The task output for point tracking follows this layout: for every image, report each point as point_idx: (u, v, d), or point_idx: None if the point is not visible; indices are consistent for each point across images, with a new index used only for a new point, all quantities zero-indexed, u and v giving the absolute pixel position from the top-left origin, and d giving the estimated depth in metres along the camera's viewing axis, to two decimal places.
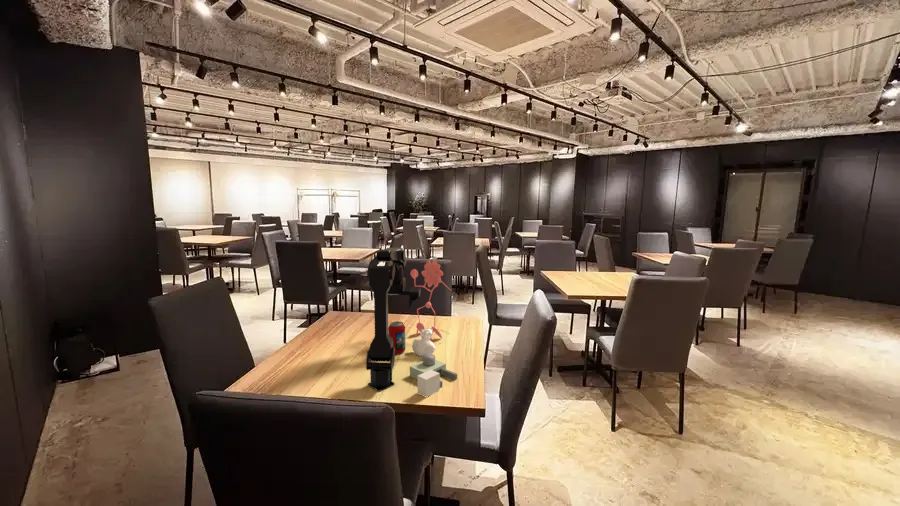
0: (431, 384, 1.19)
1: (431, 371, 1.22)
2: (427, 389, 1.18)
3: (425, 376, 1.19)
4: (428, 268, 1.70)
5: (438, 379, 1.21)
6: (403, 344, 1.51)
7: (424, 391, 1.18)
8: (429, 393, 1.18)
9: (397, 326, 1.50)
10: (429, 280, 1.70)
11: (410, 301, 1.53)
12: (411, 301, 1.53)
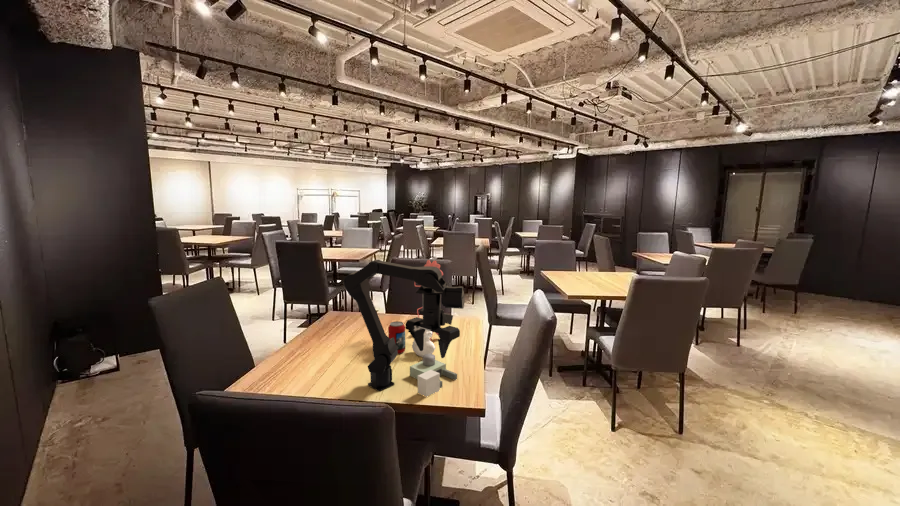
0: (431, 384, 1.19)
1: (431, 371, 1.22)
2: (427, 389, 1.18)
3: (425, 376, 1.19)
4: None
5: (438, 379, 1.21)
6: (403, 344, 1.51)
7: (424, 391, 1.18)
8: (429, 393, 1.18)
9: (397, 326, 1.50)
10: None
11: (439, 342, 1.14)
12: (440, 343, 1.14)
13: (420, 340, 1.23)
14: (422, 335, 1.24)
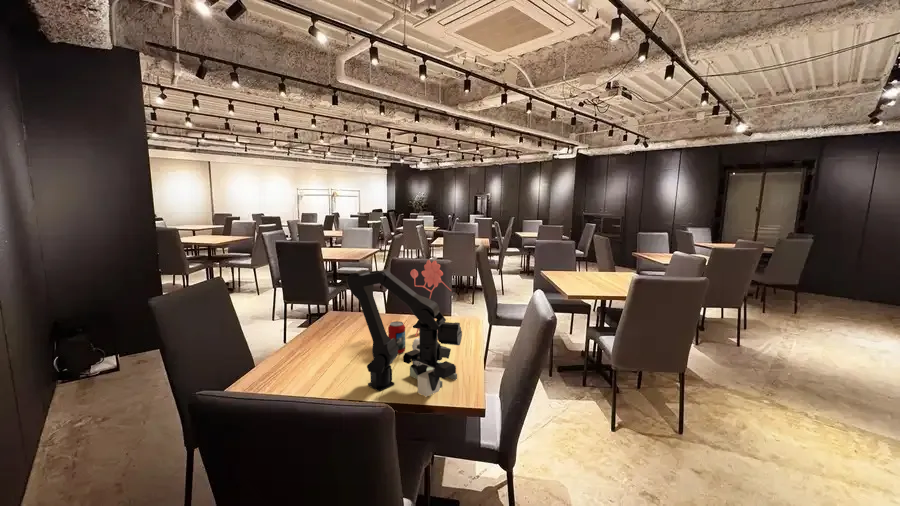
0: None
1: (431, 371, 1.22)
2: (427, 389, 1.18)
3: (425, 376, 1.19)
4: (428, 268, 1.70)
5: None
6: (403, 344, 1.51)
7: (424, 390, 1.18)
8: (429, 393, 1.18)
9: (397, 326, 1.50)
10: (429, 280, 1.70)
11: (429, 376, 1.16)
12: (430, 376, 1.16)
13: None
14: (425, 370, 1.23)
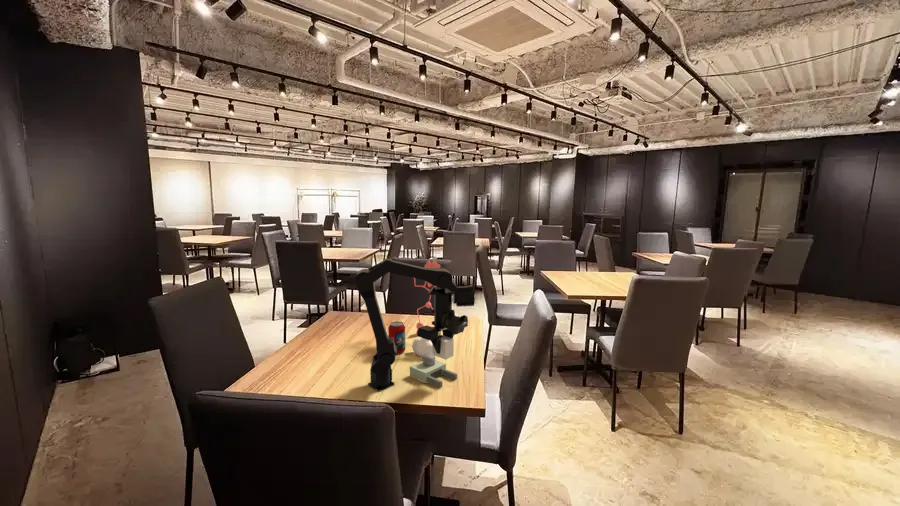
0: None
1: (449, 339, 1.26)
2: (433, 347, 1.27)
3: None
4: None
5: (444, 347, 1.24)
6: (403, 344, 1.51)
7: None
8: (435, 353, 1.27)
9: (397, 326, 1.50)
10: None
11: None
12: None
13: None
14: (450, 336, 1.28)
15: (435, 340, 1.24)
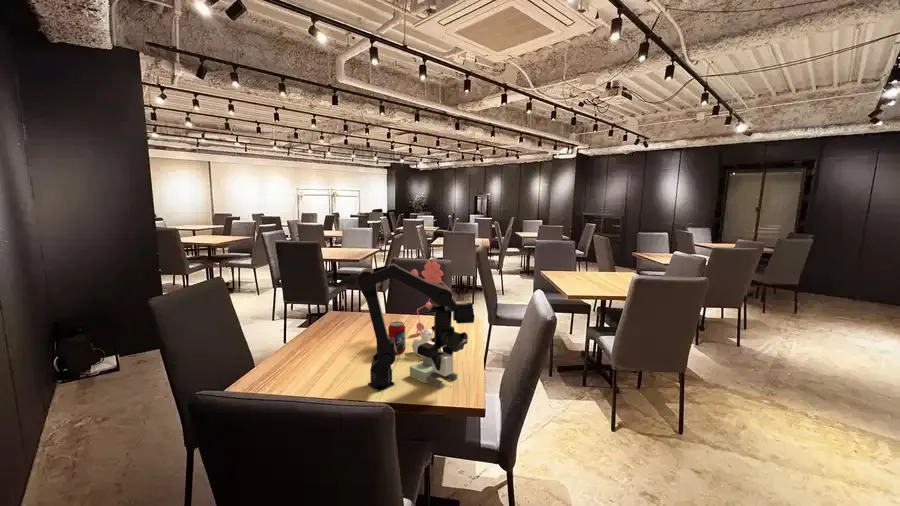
0: None
1: (449, 355, 1.26)
2: (433, 364, 1.28)
3: None
4: (428, 268, 1.70)
5: (444, 364, 1.24)
6: (403, 344, 1.51)
7: None
8: (435, 369, 1.27)
9: (397, 326, 1.50)
10: (429, 280, 1.70)
11: None
12: None
13: None
14: (449, 352, 1.28)
15: (435, 357, 1.25)
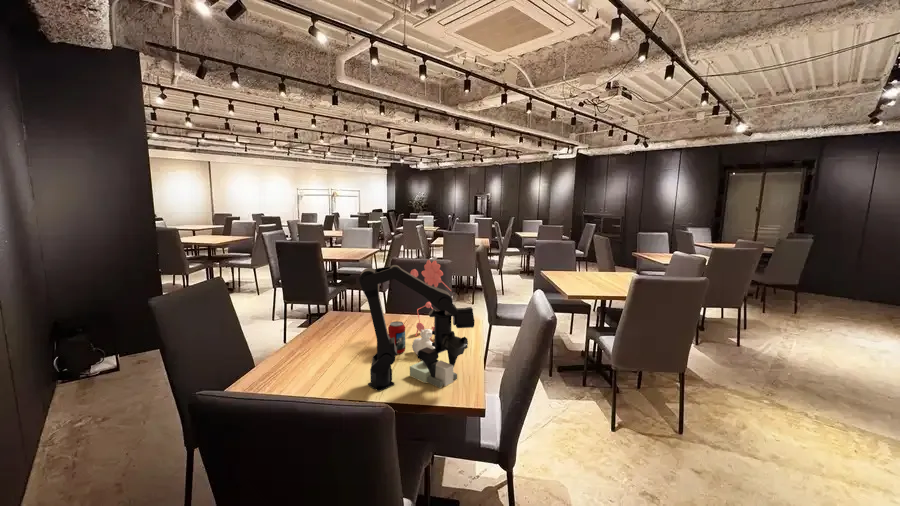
0: (437, 373, 1.27)
1: (449, 365, 1.27)
2: None
3: (438, 363, 1.29)
4: (428, 268, 1.70)
5: (444, 374, 1.25)
6: (403, 344, 1.51)
7: None
8: None
9: (397, 326, 1.50)
10: (429, 280, 1.70)
11: None
12: None
13: (451, 358, 1.31)
14: None
15: (430, 364, 1.23)
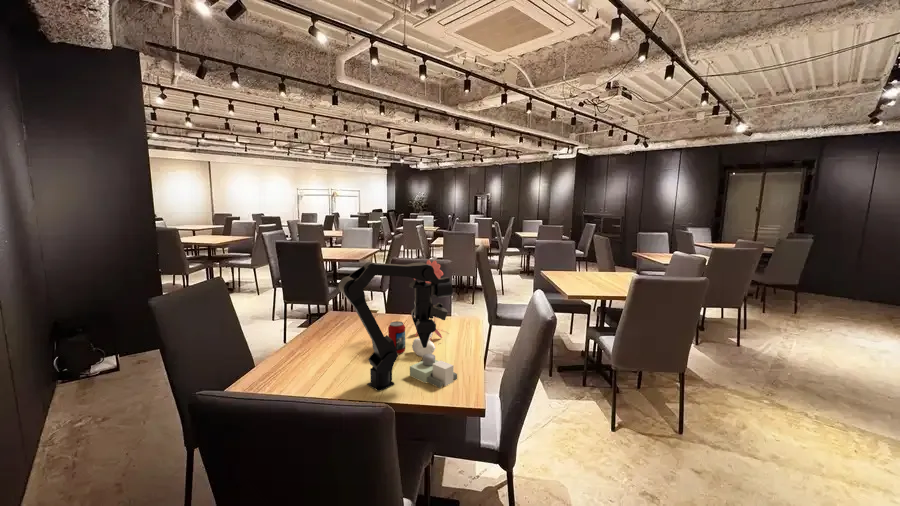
0: (437, 373, 1.27)
1: (449, 365, 1.27)
2: (433, 374, 1.28)
3: (438, 363, 1.29)
4: None
5: (444, 374, 1.25)
6: (403, 344, 1.51)
7: None
8: None
9: (397, 326, 1.50)
10: None
11: None
12: (417, 332, 1.24)
13: None
14: None
15: (424, 334, 1.25)
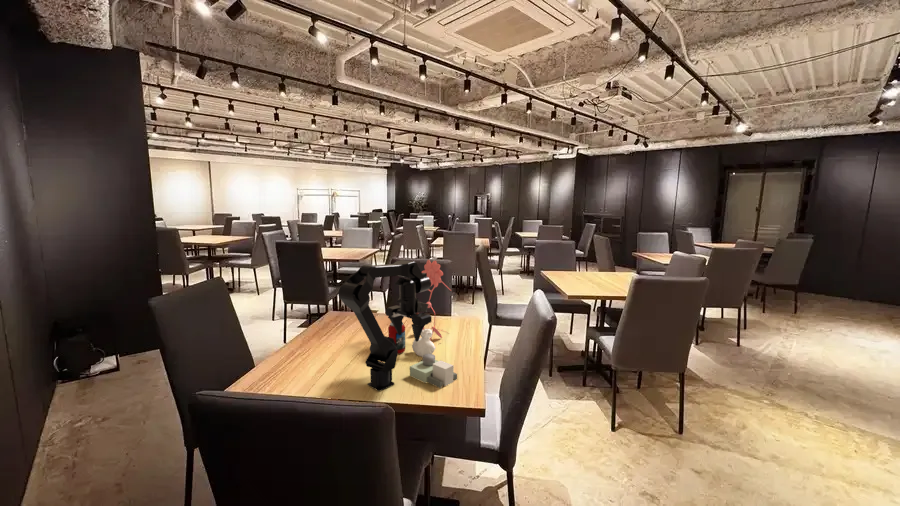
0: (437, 373, 1.27)
1: (449, 365, 1.27)
2: (433, 374, 1.28)
3: (438, 363, 1.29)
4: (428, 268, 1.70)
5: (444, 374, 1.25)
6: (403, 344, 1.51)
7: None
8: None
9: None
10: None
11: (413, 327, 1.29)
12: (414, 327, 1.29)
13: (398, 325, 1.38)
14: (400, 321, 1.39)
15: (418, 328, 1.31)
